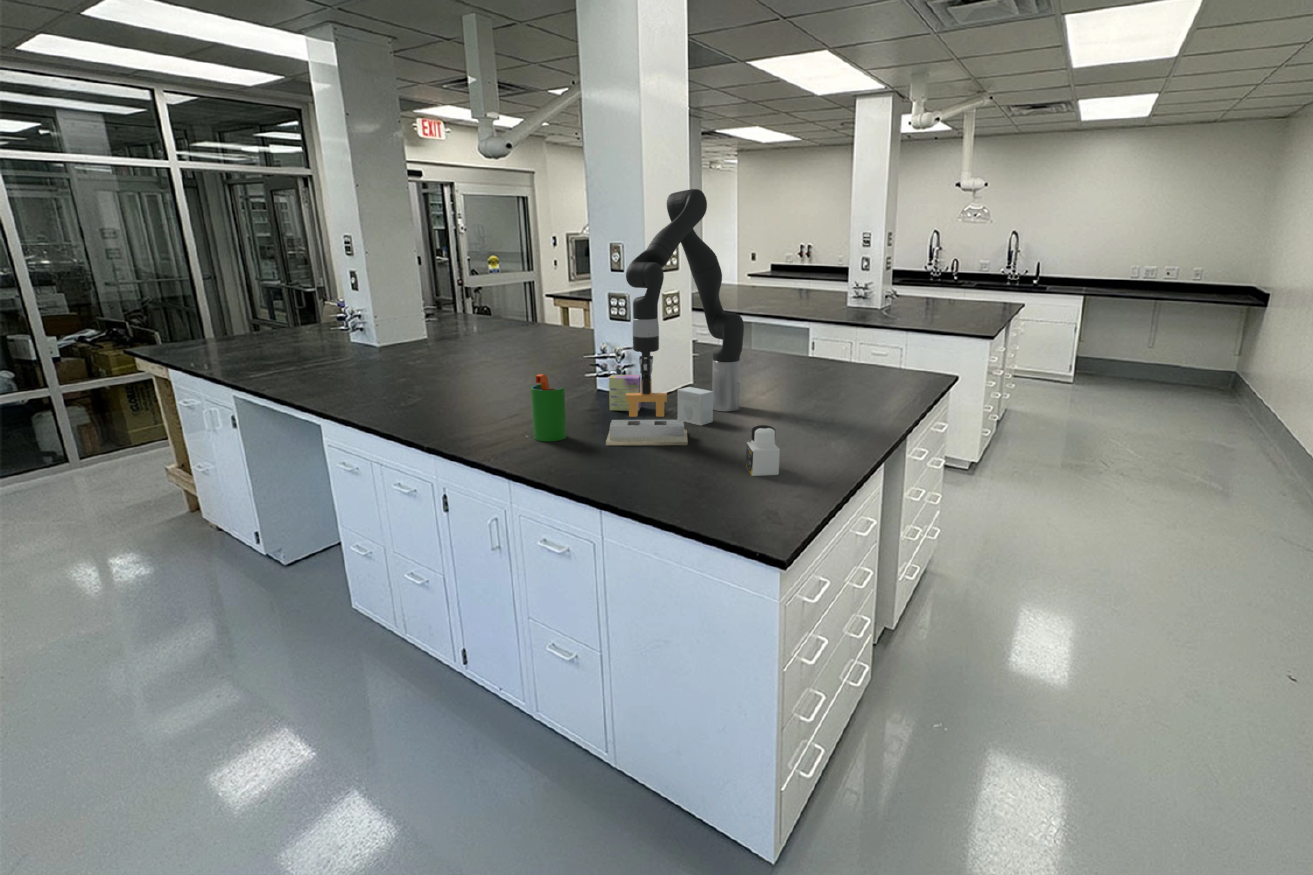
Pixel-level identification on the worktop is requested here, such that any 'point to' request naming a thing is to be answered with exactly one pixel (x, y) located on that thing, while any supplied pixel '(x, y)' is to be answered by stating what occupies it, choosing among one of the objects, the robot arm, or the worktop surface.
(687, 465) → the worktop surface
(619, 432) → the slotted grey base block
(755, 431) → the medicine bottle
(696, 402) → the skincare box
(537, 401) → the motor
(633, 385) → the box
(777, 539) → the worktop surface
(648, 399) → the clip
